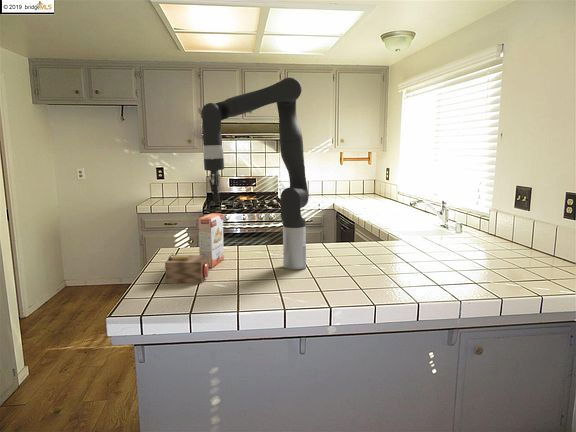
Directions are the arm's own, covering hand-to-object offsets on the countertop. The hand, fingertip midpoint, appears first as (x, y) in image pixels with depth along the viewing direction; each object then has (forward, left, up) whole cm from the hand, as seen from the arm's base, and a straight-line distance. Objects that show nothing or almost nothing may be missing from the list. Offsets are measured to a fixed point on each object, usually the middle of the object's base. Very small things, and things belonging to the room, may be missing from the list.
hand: (216, 202), depth 158 cm
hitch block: (+11, +9, -28) cm, 31 cm away
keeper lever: (+13, +9, -20) cm, 26 cm away
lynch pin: (+11, +9, -27) cm, 30 cm away
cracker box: (+5, -12, -28) cm, 31 cm away
